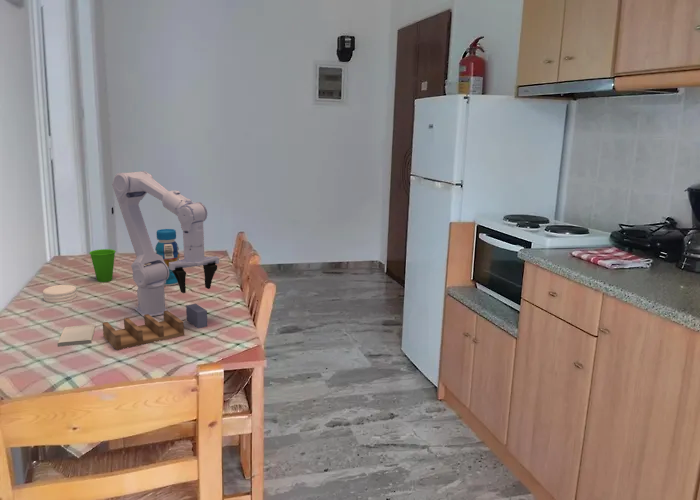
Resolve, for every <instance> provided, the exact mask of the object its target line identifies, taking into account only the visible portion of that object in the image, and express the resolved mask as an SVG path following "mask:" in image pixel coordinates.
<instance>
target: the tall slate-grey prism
mask: <svg viewBox="0 0 700 500" xmlns="http://www.w3.org/2000/svg"><path fill="white" fill-rule="evenodd" d="M185 308H186V310H185V311H186V321H187V322H188V323H190V324H191V325H192V326H194V327H195V328H196V329H202V328H206V327H208V310H207V309H205V308H204V307H202V306H200V305H199V304H197V303H191V304H186V306H185Z"/></svg>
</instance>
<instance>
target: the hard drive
mask: <svg viewBox="0 0 700 500" xmlns="http://www.w3.org/2000/svg"><path fill="white" fill-rule="evenodd" d="M95 330H96V325H95V324H87V325H86V324H85V325H74V326H73V325H72V326H65V327H63V329H62V331H61V334H60V337H59V339H58V341H57V348H58V347H66V346H78V345H89V344H92V343H93V339H94V333H95Z"/></svg>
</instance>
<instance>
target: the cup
mask: <svg viewBox="0 0 700 500" xmlns="http://www.w3.org/2000/svg"><path fill="white" fill-rule="evenodd" d="M116 252H117V251H116V249H110V248H105V249H104V248H103V249H102V248H101V249H94V250H91V251H89V255H90V258H91V262H92V266H93V270H94V273H95V274H94V275H95V276H96V281H97V282H99V283H108V282H111V281H113V274H114V265H115V256H116Z"/></svg>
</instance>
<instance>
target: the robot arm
mask: <svg viewBox="0 0 700 500" xmlns="http://www.w3.org/2000/svg"><path fill="white" fill-rule="evenodd" d="M111 185H112V188H113V192H114V194H115V198H116V200H117V202H118V206H119V209H120V212H121V215H122V217H123V221H124V223H125V226H126V230H127V232H128V236H129V239H130V242H131V244H132V247H133V251H134V253H135V256H136V258H135V260H134V261H132V264H131V265H130V266H131V270H132V279H133V282H134V283H135V284H136V286H137V292H136V298H137V307H135V308H134V310H135V311H136V312H137V313H139V314H140V315H141V316H143V317H144V315H146V314H149V315H150V316H151V317H156V316H160V315H162V316H163V315H164V311H167V310H168V311H169V312H170V313H171V311H170V310H169V309H167V308H166V295H165V294H166V293H165V292H166V291H165V286H164V284H165V283H166V280H167V279H168V277H169V269H170V270H172V272H173V273H174V275H175V277H176V279H177V281H178V284H177V285H178V286H179V289H180V292H181V293H182V294H186V291H187V290H186V288H187V287H186V279H187V278H186V277H187V276H186V275H187V271H186V270H185V268H186V269H187V268H193V267H199V266H200V267H201V266H203V274H204V287H205V288H206V289H208V290H210V289H211V285H212V281H213V278H214V276H215V273H216V271H217V270H218V265H219V264H220V257H219V256H217V255H215V256H205V241H204V240H205V238H204V237H205V236H204V234H205V233H204V232H205V231H204V222H205V221H206V220H207V218H208V210H207V208H206V206H205V205H204V204H203V203H202V202H200V201H199V202H198V201H197V202H194V201H192V200H191V198H187V197H186V196H184V195H182V194H181V191H179V190H170V191H169V190H168V189H167V188H166V187H164V186H162V184H160V183H159V182H158V181H156V180H155V179H154V177H153V175H152V174H150V173H148V172H147V171H145V170H140V171H136V172H135V171H133V172H117V173H116V174H115V175H114V178H113V180H112V184H111ZM147 194H149V195H150V196H152V197H155V198H156V199H158V200H160V201H161V202H162V206H163V207H164V208H165V209H166V210H168V211H170V212H171V213H172V214H174V215H175V216H176V217H177V219H178V221H179V223H180V228H181V230H182V239H183V242H182V243H183V259H179V261H174V262H169V268H168V266H167V265H166V264H165V262H164V260H163V257H162V256H160V255H158V254H156V251H154V246H153V244H152V241H151V237H150V234H149V232H148V229H147V226H146V224H145V220H144V217H143V214H142V211H141V208H140V205H139V204H140V202H141V201H142V200H143V199H144V198H145V197H146V195H147Z"/></svg>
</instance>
